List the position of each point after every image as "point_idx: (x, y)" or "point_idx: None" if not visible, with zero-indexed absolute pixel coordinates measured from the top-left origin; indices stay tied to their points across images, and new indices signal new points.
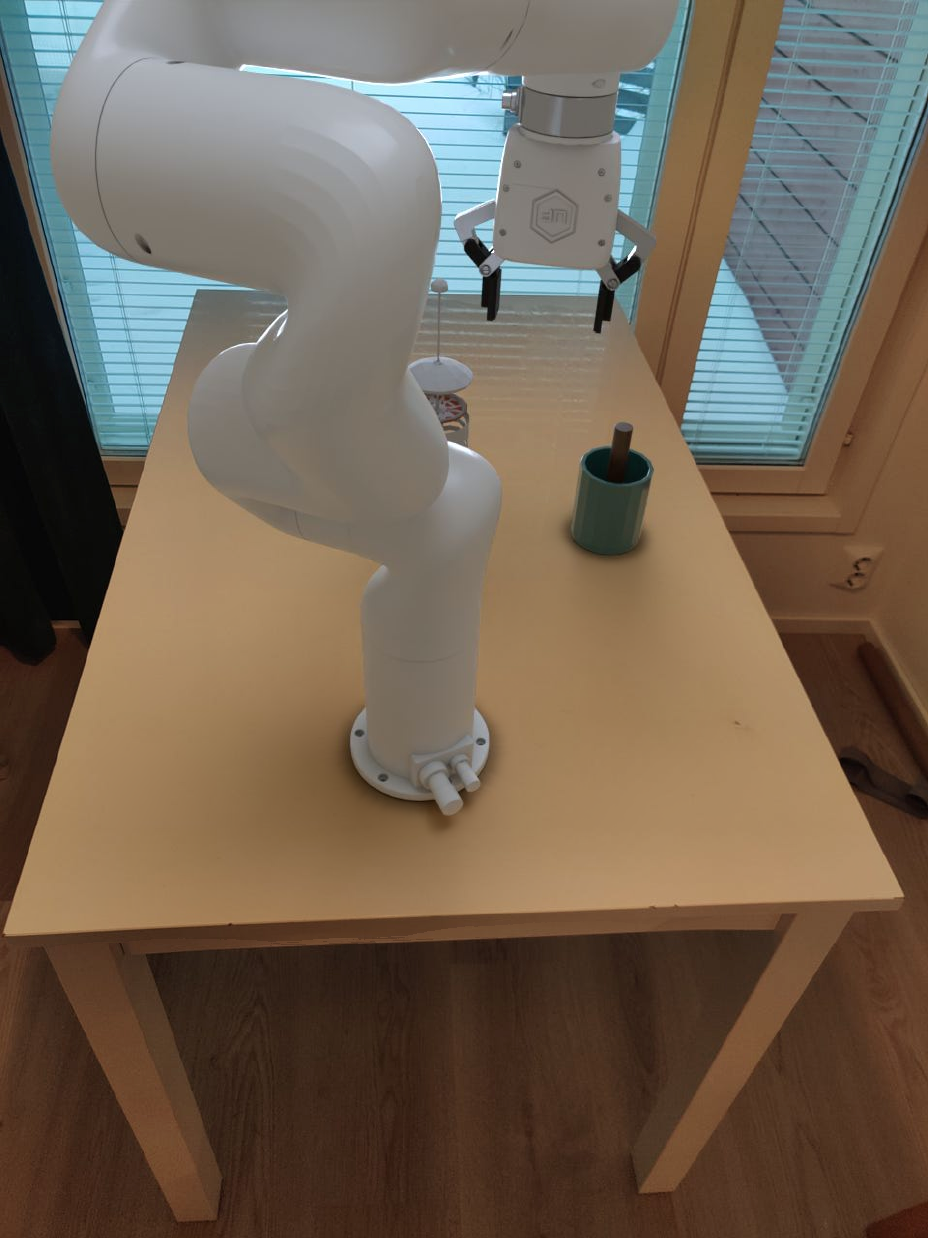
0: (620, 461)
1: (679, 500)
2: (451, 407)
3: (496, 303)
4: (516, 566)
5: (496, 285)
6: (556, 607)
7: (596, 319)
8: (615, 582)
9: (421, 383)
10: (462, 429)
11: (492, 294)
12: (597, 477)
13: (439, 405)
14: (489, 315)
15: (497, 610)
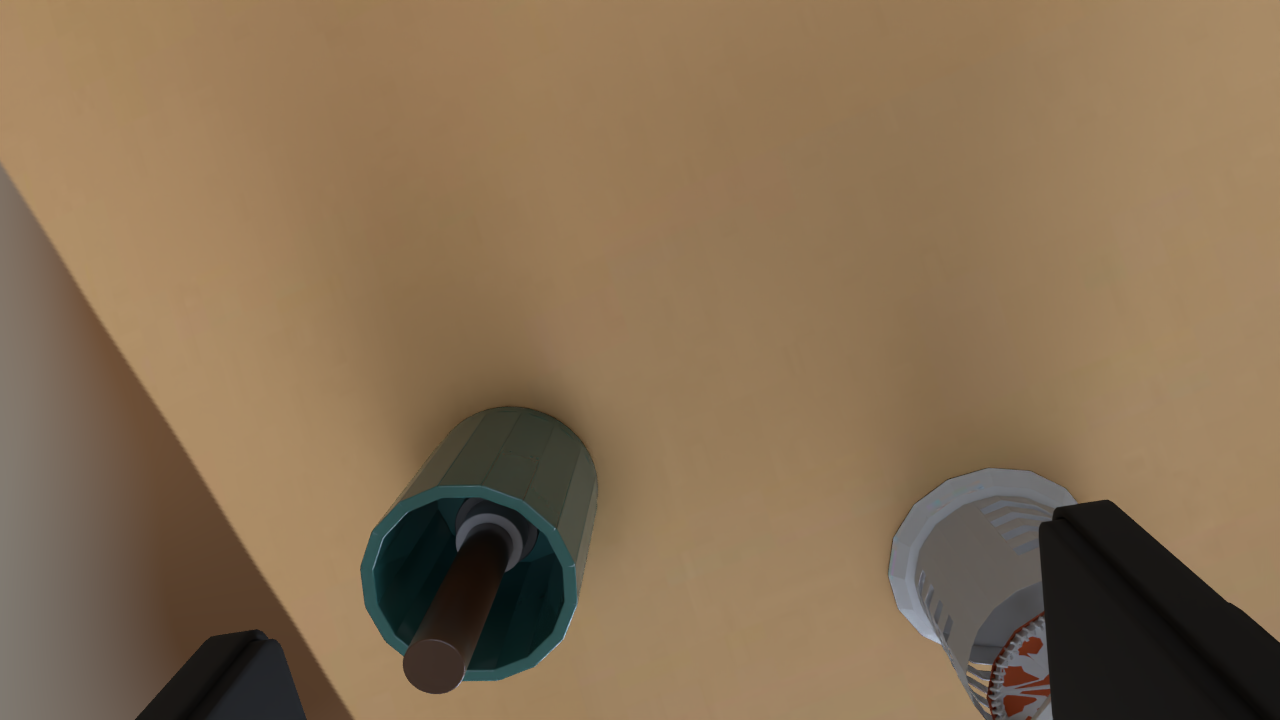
0: (449, 581)
1: (387, 673)
2: (1039, 702)
3: (1098, 632)
4: (680, 283)
5: (1219, 702)
6: (540, 171)
7: (212, 696)
8: (437, 318)
9: None
10: (972, 634)
11: (1196, 625)
12: (548, 596)
13: None
14: (1102, 518)
15: (672, 101)
